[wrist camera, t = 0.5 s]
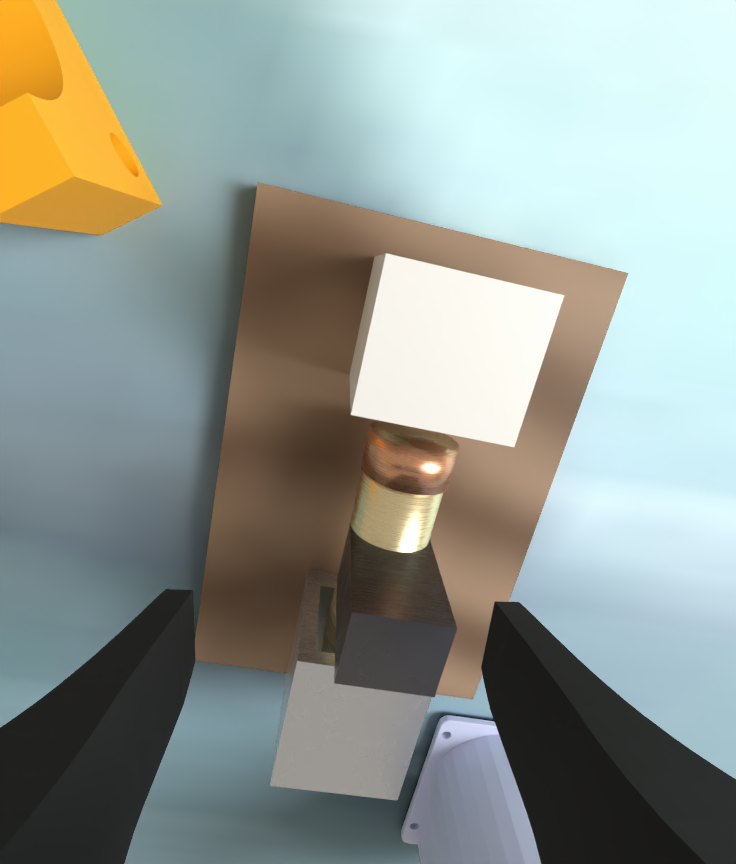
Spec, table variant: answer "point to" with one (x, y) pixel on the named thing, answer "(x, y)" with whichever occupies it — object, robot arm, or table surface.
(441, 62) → the table surface
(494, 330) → the white square block
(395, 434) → the block with brass knob
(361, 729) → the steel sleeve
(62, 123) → the yellow u-shaped block
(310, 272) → the walnut board
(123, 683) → the robot arm
